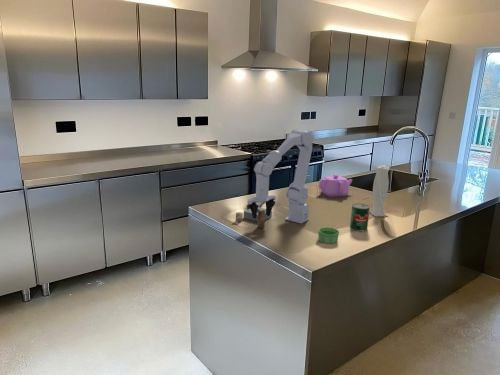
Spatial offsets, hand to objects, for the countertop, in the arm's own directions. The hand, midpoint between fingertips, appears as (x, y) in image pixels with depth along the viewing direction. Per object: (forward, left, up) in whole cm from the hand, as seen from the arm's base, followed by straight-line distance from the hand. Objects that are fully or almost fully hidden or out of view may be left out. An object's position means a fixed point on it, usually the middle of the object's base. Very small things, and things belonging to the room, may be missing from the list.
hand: (261, 216), depth 172 cm
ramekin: (-31, -6, -6) cm, 32 cm away
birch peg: (+13, 0, -5) cm, 14 cm away
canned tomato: (-36, -29, -5) cm, 47 cm away
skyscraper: (-37, -54, -5) cm, 66 cm away
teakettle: (-2, -78, -6) cm, 78 cm away
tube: (+20, -26, -6) cm, 34 cm away
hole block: (+9, -10, -5) cm, 14 cm away
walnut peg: (0, 0, -5) cm, 5 cm away
